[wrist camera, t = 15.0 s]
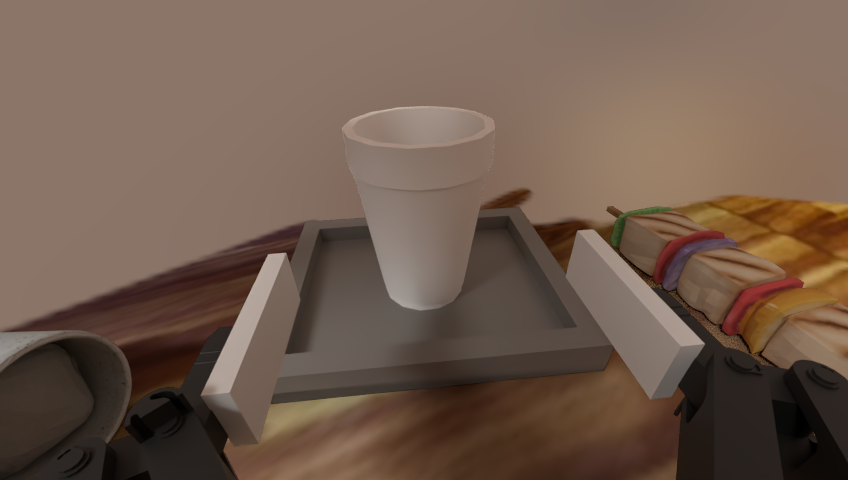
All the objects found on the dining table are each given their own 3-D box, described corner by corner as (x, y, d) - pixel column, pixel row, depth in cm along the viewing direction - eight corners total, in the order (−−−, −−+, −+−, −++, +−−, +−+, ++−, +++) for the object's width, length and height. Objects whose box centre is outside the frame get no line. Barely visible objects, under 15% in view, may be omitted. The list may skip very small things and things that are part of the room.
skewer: (881, 387, 21) (947, 332, 18) (804, 416, 20) (864, 360, 17) (628, 223, 38) (643, 181, 35) (578, 232, 37) (589, 189, 34)
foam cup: (344, 284, 29) (312, 126, 22) (422, 239, 34) (417, 100, 27) (426, 347, 23) (420, 162, 16) (503, 281, 28) (525, 120, 21)
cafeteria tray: (258, 405, 21) (245, 380, 20) (310, 242, 36) (305, 221, 35) (604, 370, 22) (614, 344, 21) (516, 227, 37) (519, 207, 36)
